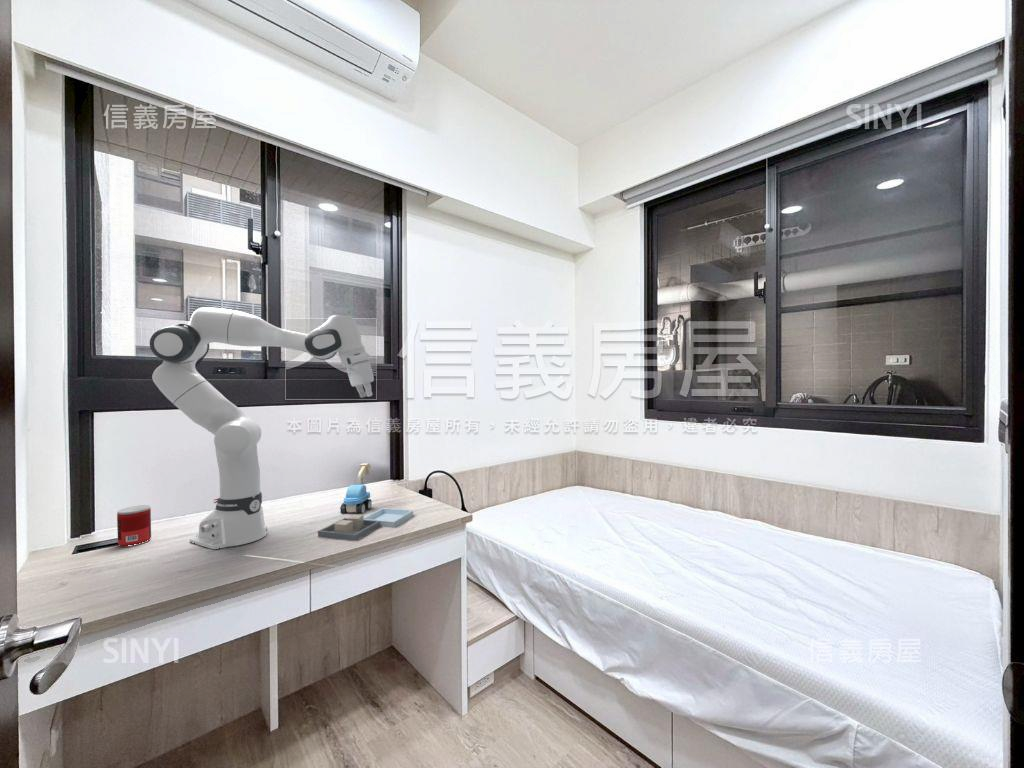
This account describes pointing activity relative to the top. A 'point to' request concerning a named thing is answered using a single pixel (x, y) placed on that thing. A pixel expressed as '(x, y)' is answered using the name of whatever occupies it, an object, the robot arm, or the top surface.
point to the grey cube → (344, 526)
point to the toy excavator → (357, 494)
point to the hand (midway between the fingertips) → (366, 396)
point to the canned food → (134, 525)
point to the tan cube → (357, 521)
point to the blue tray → (390, 516)
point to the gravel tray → (330, 533)
